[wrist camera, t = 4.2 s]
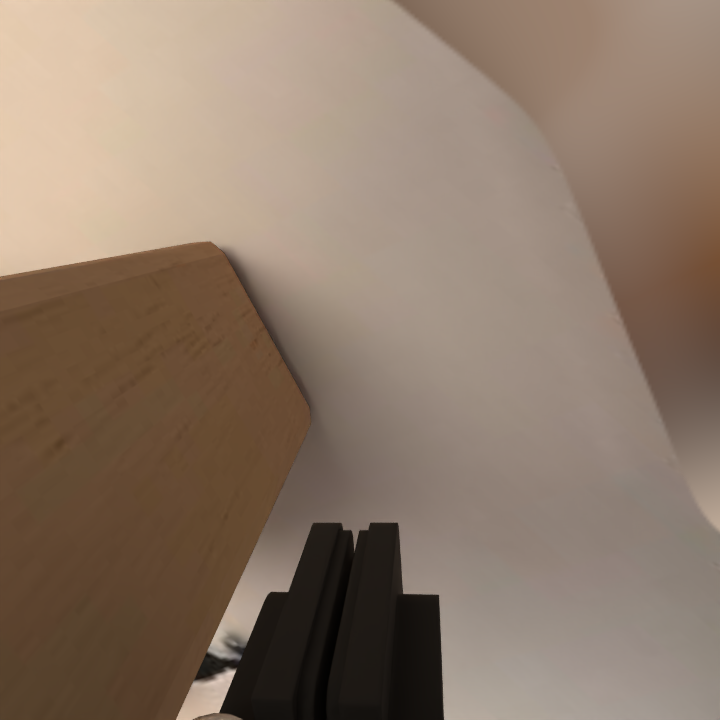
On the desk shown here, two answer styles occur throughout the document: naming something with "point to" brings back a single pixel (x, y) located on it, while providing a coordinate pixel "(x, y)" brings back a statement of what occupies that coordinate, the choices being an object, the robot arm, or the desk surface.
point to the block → (130, 475)
